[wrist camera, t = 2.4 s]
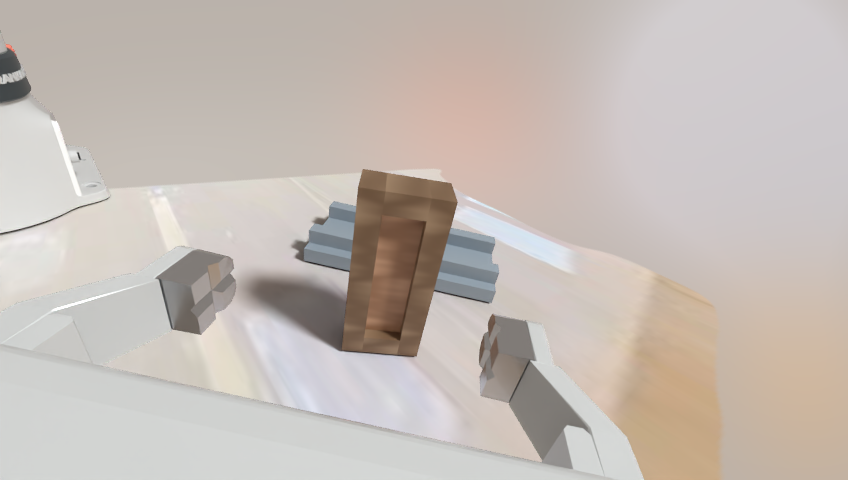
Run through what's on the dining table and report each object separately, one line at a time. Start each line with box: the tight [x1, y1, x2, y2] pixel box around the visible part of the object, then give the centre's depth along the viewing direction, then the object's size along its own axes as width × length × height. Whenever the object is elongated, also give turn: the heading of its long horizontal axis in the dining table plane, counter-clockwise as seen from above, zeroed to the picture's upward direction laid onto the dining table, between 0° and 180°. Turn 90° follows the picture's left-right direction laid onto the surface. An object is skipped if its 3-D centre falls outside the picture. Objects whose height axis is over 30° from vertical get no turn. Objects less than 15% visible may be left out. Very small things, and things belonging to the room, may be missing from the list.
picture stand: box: [304, 201, 499, 303], centre depth 39 cm, size 20×10×3 cm, turn 84°
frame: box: [342, 169, 458, 356], centre depth 25 cm, size 6×3×14 cm, turn 94°
